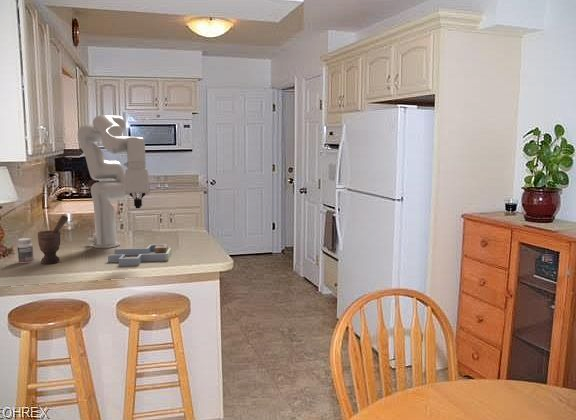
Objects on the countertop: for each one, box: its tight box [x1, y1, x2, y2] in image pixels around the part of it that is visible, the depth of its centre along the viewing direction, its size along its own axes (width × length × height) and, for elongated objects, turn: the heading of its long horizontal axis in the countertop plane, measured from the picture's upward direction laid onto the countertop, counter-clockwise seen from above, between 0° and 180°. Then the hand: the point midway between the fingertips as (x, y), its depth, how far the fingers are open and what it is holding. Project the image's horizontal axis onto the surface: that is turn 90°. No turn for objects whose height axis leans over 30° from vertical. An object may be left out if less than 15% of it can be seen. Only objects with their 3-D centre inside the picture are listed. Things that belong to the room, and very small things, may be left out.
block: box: [155, 244, 169, 254], centre depth 223 cm, size 5×5×5 cm
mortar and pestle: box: [37, 214, 69, 265], centre depth 214 cm, size 12×9×20 cm
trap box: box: [107, 244, 173, 267], centre depth 222 cm, size 25×27×3 cm
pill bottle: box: [17, 237, 35, 264], centre depth 215 cm, size 6×6×10 cm
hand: (138, 207), depth 220 cm, fingers closed
